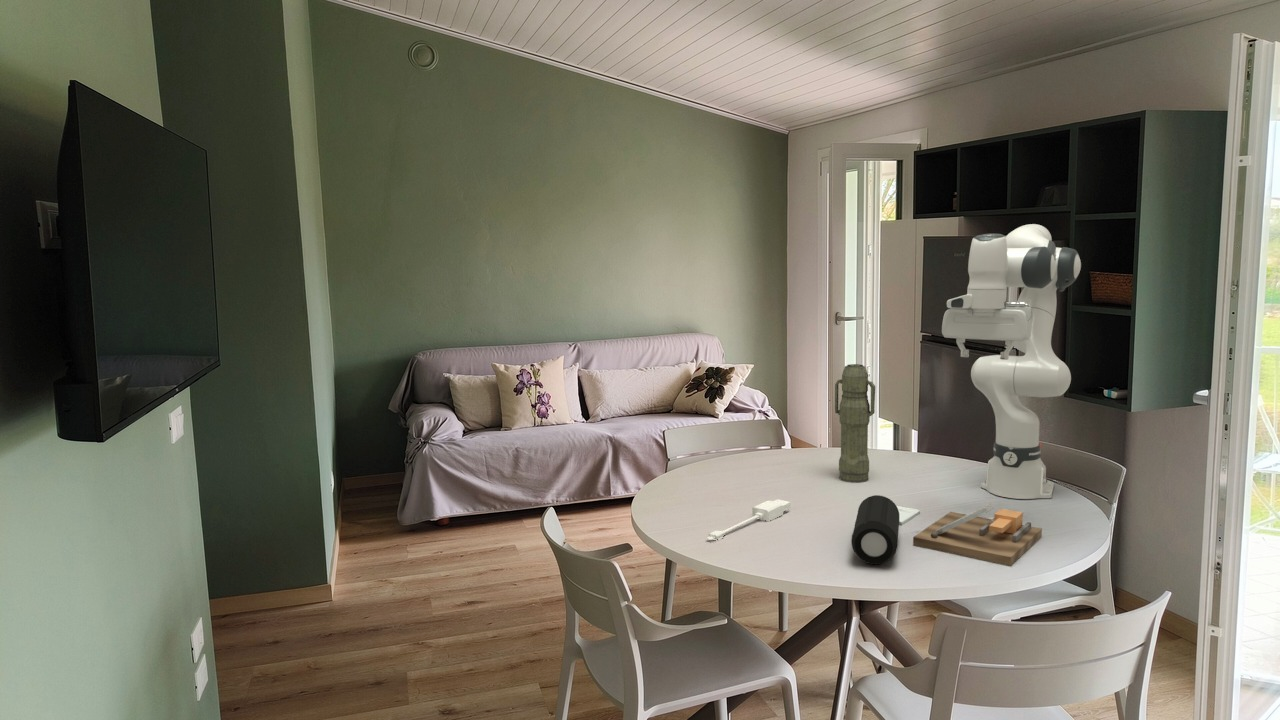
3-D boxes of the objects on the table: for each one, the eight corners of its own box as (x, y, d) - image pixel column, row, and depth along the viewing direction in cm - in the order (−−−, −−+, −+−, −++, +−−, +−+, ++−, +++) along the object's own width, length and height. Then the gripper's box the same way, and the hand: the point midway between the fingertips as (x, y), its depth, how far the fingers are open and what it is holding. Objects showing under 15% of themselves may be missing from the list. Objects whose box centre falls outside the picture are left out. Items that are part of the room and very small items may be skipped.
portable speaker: (858, 529, 210) (858, 491, 208) (899, 533, 206) (900, 493, 205) (850, 566, 186) (850, 522, 184) (896, 570, 182) (897, 526, 181)
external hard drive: (870, 522, 217) (890, 509, 226) (901, 528, 211) (920, 515, 221) (871, 515, 216) (890, 504, 226) (901, 521, 211) (920, 509, 221)
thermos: (872, 484, 249) (874, 367, 244) (832, 481, 253) (833, 366, 249) (875, 476, 257) (877, 363, 253) (836, 473, 261) (837, 362, 257)
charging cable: (701, 543, 205) (700, 530, 204) (776, 507, 228) (775, 495, 227) (717, 548, 201) (716, 535, 201) (792, 511, 224) (791, 499, 224)
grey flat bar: (942, 531, 201) (940, 527, 201) (993, 507, 192) (990, 503, 192) (936, 535, 198) (934, 532, 198) (987, 511, 189) (984, 507, 189)
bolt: (1000, 524, 204) (1001, 508, 203) (1022, 528, 201) (1022, 512, 200) (984, 538, 195) (984, 521, 194) (1006, 542, 192) (1007, 525, 191)
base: (950, 519, 216) (950, 505, 215) (1041, 536, 201) (1042, 521, 201) (913, 545, 197) (913, 530, 197) (1010, 566, 183) (1011, 550, 183)
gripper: (1036, 301, 198) (1033, 359, 199) (949, 300, 211) (947, 354, 212) (1028, 302, 193) (1025, 362, 195) (940, 300, 206) (938, 356, 208)
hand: (984, 358), depth 204 cm, fingers open, 8 cm apart
